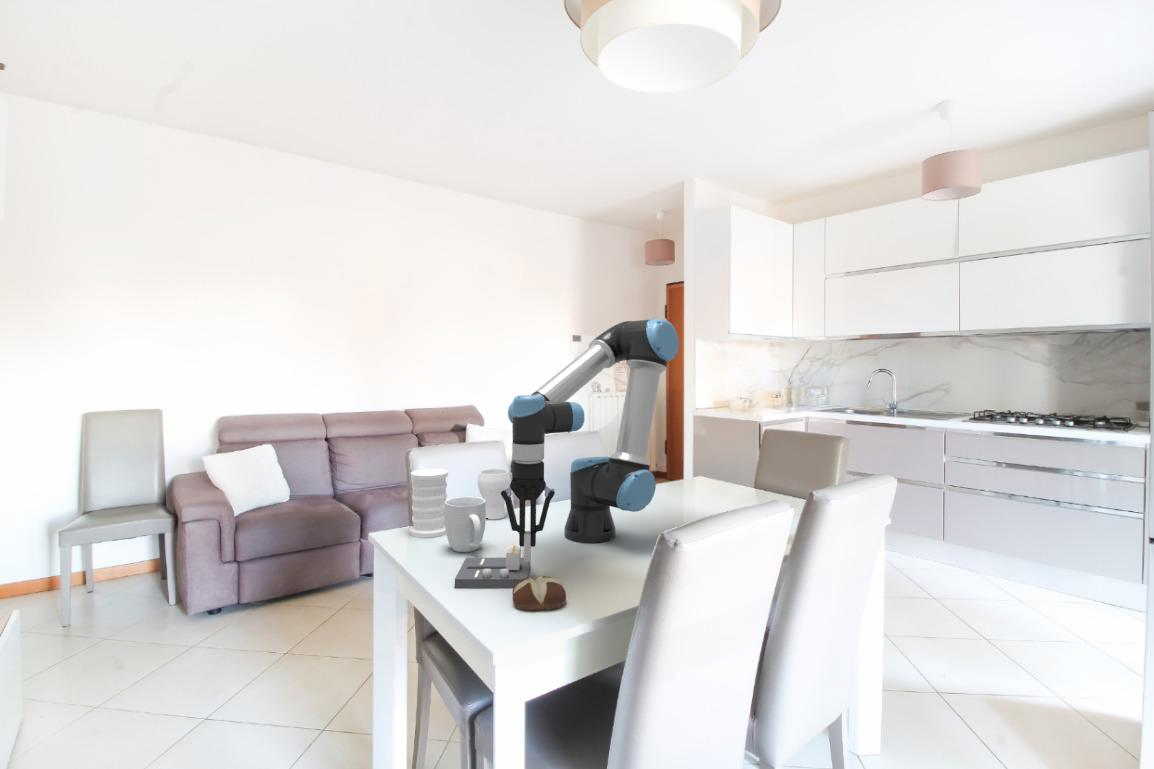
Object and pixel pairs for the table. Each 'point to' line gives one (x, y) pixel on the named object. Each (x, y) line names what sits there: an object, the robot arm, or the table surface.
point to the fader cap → (513, 557)
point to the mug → (465, 522)
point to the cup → (493, 491)
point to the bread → (538, 593)
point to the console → (489, 573)
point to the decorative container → (428, 502)
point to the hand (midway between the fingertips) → (527, 559)
